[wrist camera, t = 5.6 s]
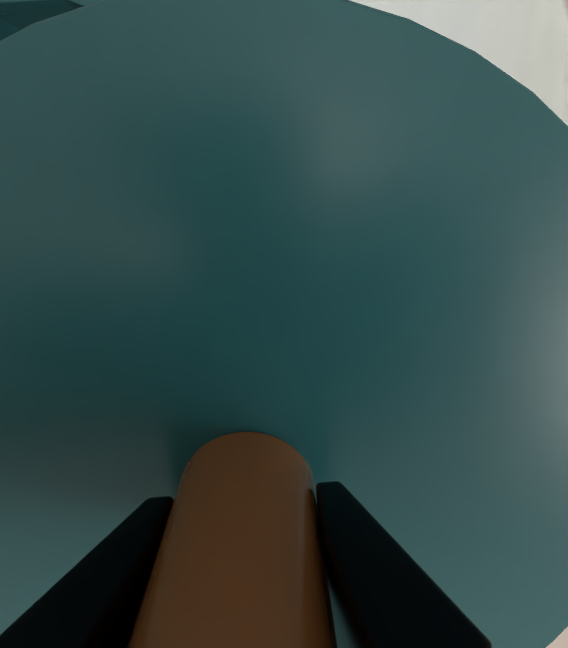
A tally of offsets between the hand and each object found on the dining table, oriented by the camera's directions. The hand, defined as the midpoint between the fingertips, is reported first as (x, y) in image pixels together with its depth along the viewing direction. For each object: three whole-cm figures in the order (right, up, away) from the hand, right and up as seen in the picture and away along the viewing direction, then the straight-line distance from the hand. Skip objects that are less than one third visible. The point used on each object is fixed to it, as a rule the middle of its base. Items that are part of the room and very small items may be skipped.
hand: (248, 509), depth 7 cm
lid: (0, 0, +1) cm, 1 cm away
